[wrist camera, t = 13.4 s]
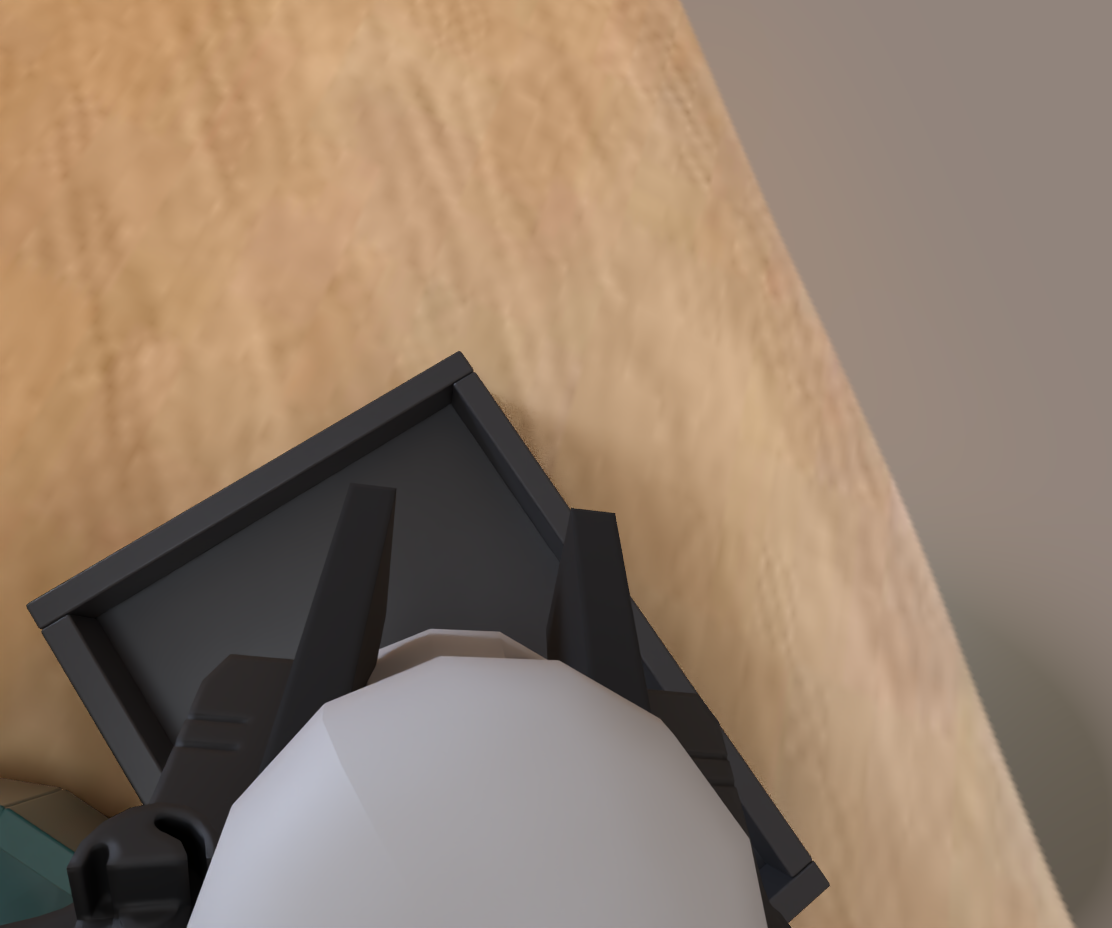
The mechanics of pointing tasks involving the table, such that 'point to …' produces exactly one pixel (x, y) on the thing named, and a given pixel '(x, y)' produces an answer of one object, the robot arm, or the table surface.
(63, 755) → the table surface
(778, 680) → the table surface
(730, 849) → the salt shaker
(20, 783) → the teal ring
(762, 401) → the table surface
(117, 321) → the table surface
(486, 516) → the tray
